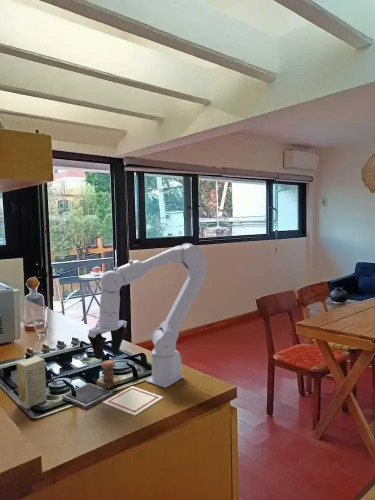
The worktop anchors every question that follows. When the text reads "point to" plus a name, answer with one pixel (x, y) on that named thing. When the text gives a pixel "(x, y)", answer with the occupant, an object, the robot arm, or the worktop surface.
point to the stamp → (108, 375)
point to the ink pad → (88, 395)
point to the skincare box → (31, 381)
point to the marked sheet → (133, 400)
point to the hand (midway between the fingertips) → (106, 355)
